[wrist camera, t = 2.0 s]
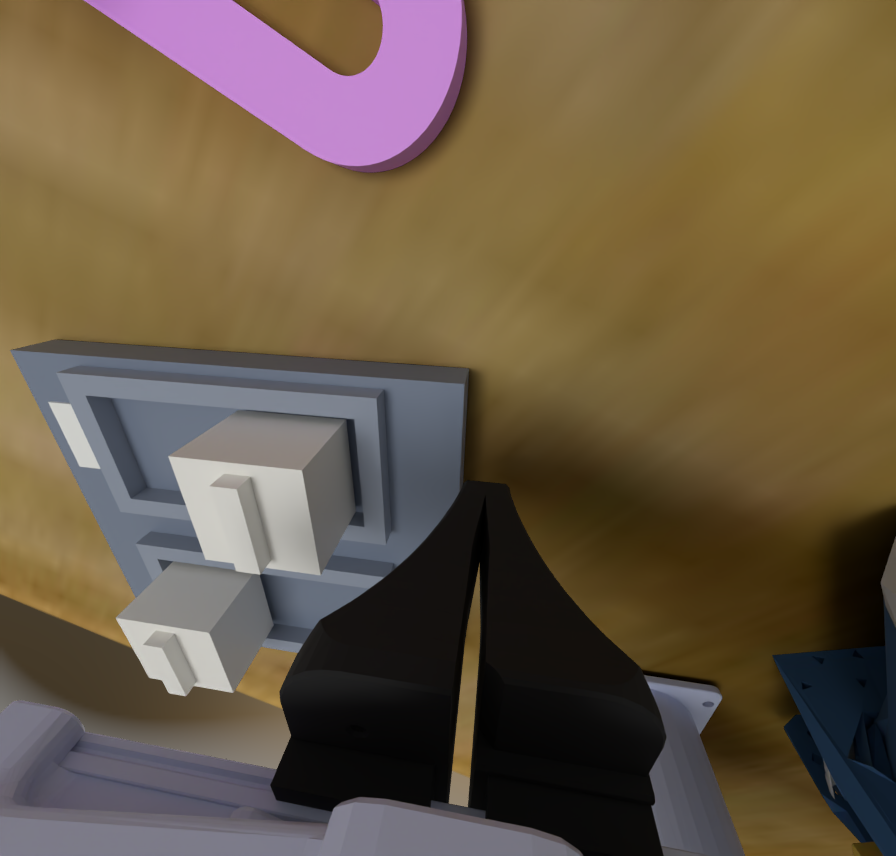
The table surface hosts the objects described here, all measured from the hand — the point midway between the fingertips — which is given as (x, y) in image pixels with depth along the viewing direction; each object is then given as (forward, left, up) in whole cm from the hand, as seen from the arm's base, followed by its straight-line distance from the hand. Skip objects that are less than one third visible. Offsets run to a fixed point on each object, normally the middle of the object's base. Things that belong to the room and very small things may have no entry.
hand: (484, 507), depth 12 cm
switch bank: (-4, +9, -3) cm, 11 cm away
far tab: (-8, +12, -2) cm, 14 cm away
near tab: (0, +7, -2) cm, 7 cm away
